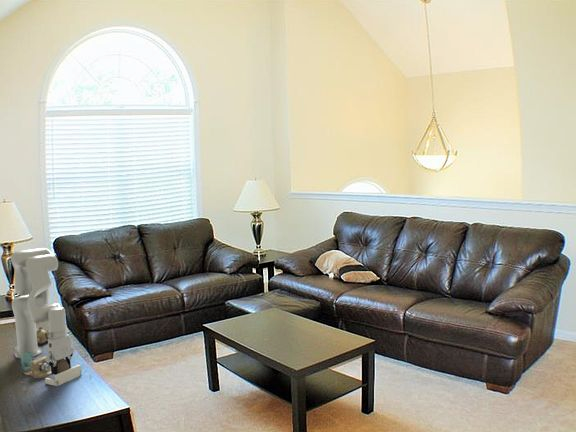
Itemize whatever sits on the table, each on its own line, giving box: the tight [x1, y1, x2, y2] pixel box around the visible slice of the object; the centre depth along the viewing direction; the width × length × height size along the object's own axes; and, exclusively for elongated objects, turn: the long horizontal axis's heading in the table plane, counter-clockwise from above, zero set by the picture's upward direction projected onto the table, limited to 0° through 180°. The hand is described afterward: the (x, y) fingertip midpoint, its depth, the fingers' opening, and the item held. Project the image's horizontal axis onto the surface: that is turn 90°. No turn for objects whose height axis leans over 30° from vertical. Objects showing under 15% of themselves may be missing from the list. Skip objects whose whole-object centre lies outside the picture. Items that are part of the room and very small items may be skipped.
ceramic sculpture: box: [36, 326, 49, 345], centre depth 321 cm, size 11×9×15 cm
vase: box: [56, 358, 69, 374], centre depth 265 cm, size 7×7×9 cm
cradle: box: [44, 364, 82, 387], centre depth 264 cm, size 8×14×5 cm, turn 152°
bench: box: [23, 355, 53, 379], centre depth 272 cm, size 13×8×7 cm, turn 62°
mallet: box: [20, 352, 49, 372], centre depth 273 cm, size 14×5×8 cm, turn 62°
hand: (61, 370), depth 265 cm, fingers closed on vase, 7 cm apart
